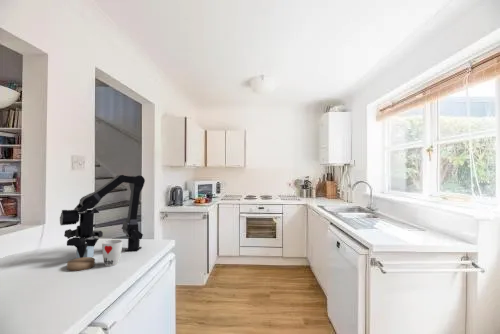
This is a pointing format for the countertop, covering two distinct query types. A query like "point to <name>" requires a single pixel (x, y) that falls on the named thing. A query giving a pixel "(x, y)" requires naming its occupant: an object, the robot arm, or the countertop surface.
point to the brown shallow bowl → (80, 264)
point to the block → (87, 252)
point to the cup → (111, 251)
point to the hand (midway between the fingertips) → (85, 256)
